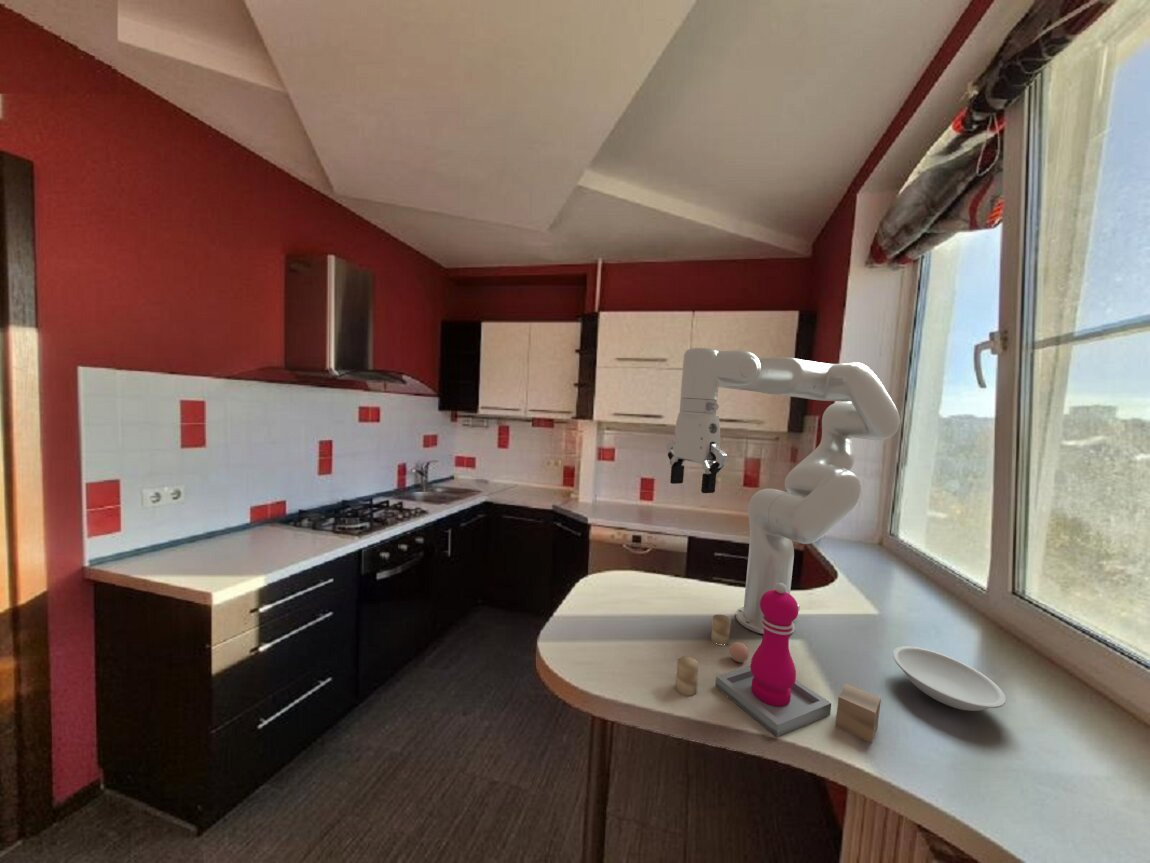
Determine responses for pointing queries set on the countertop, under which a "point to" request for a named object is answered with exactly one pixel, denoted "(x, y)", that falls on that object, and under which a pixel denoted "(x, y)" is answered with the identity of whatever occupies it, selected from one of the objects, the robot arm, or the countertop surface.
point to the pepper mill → (775, 649)
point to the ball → (739, 652)
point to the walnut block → (858, 712)
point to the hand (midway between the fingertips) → (691, 487)
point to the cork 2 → (720, 629)
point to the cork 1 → (686, 676)
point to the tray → (774, 718)
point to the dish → (948, 679)
